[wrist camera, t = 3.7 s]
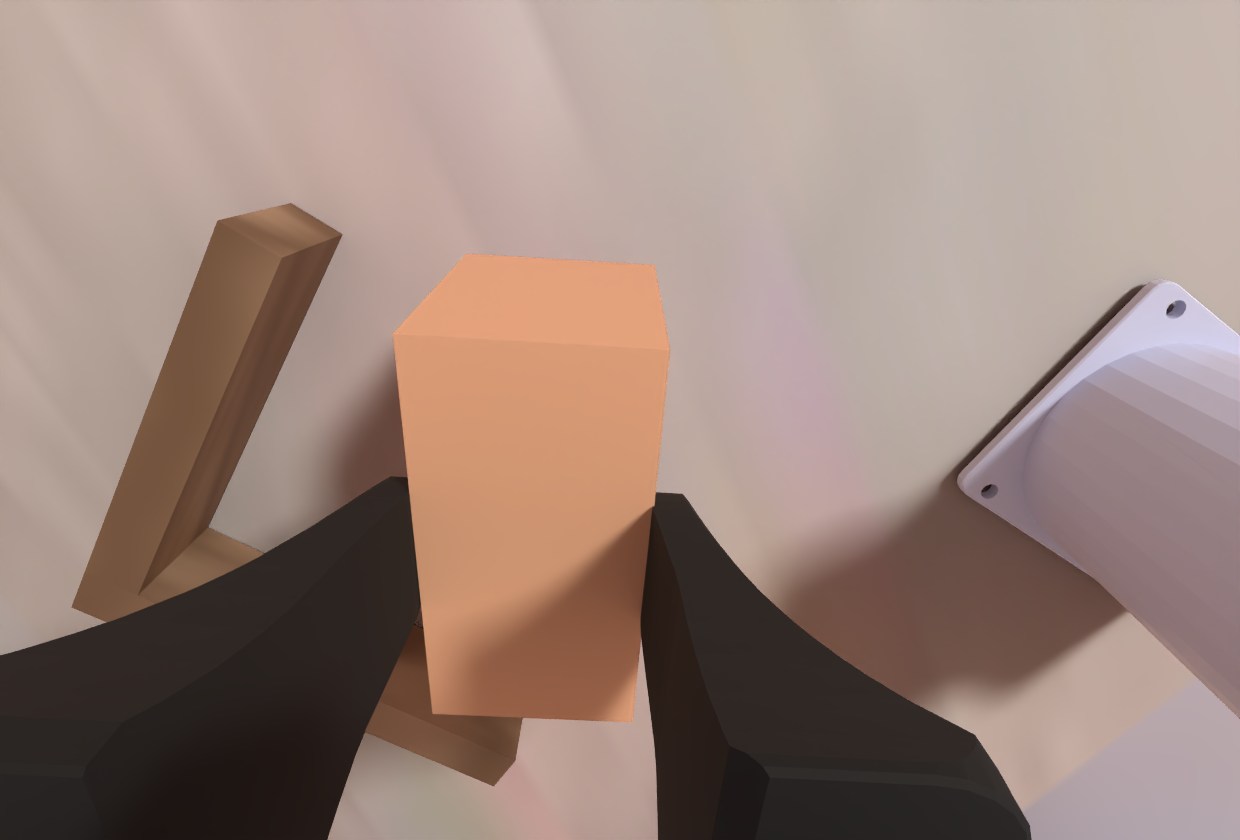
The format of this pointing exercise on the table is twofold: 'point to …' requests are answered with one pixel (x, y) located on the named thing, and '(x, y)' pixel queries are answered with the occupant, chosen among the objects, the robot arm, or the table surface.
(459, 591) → the block
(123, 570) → the wooden l-shaped bracket
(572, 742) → the table surface
